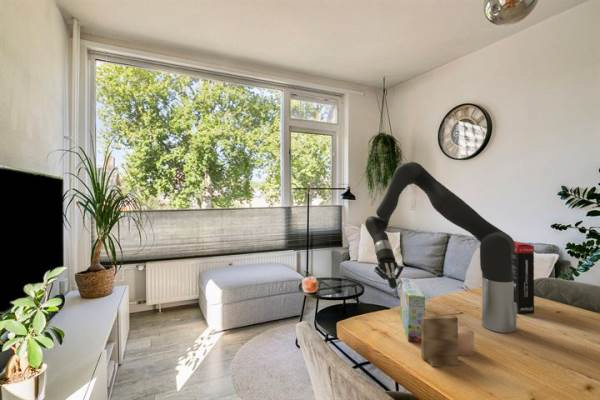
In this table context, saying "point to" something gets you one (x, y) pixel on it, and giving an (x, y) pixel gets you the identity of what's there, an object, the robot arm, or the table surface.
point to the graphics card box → (523, 277)
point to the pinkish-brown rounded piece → (465, 341)
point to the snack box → (411, 308)
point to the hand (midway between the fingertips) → (393, 287)
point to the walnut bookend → (440, 340)
